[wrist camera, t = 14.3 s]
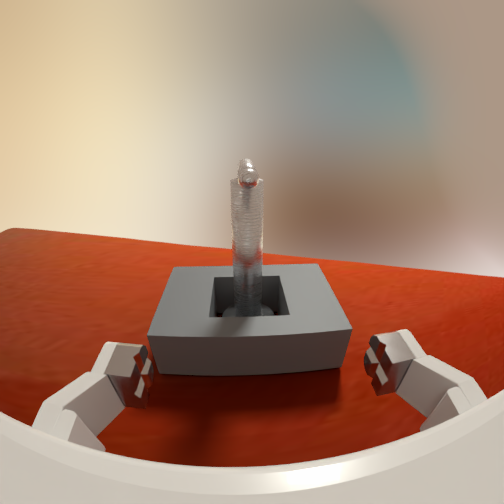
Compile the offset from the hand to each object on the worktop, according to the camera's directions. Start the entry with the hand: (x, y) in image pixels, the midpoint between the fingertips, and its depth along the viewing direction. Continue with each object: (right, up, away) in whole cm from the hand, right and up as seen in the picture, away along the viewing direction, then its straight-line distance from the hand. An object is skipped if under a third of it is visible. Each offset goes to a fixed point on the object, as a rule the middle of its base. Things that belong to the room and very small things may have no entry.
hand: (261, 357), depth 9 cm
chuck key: (-1, -3, +14) cm, 15 cm away
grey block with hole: (-1, -3, +14) cm, 15 cm away
